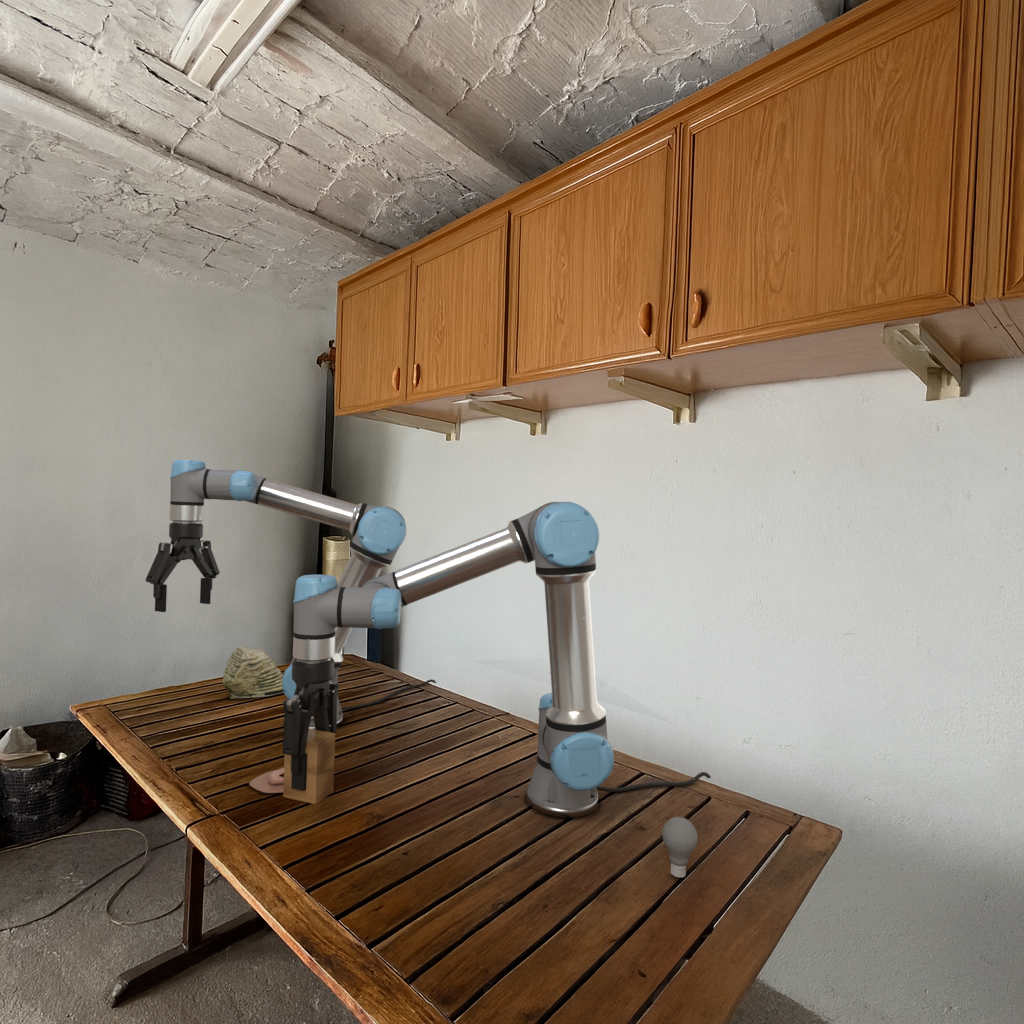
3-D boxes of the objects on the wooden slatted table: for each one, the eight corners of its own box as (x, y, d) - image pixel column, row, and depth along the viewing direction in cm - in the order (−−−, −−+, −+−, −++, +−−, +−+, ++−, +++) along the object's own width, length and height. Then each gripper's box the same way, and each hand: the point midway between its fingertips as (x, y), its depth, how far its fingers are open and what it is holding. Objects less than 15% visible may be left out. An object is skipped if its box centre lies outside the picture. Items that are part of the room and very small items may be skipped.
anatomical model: (241, 770, 135) (272, 750, 146) (240, 789, 135) (271, 767, 146) (297, 779, 132) (324, 757, 144) (297, 798, 132) (324, 775, 144)
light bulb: (655, 865, 113) (658, 810, 113) (688, 865, 114) (691, 810, 114) (666, 886, 107) (669, 827, 107) (701, 886, 108) (704, 827, 108)
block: (302, 784, 122) (303, 727, 122) (333, 791, 120) (335, 733, 120) (283, 796, 117) (284, 736, 117) (315, 804, 115) (317, 743, 114)
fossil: (218, 695, 195) (220, 647, 195) (278, 685, 208) (279, 640, 207) (228, 703, 189) (230, 653, 188) (289, 692, 201) (290, 645, 201)
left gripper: (213, 520, 170) (210, 599, 171) (130, 522, 147) (127, 613, 147) (235, 522, 168) (232, 601, 168) (154, 524, 144) (151, 616, 145)
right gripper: (326, 645, 128) (322, 759, 128) (262, 667, 110) (258, 799, 111) (358, 650, 125) (354, 766, 126) (297, 673, 108) (293, 807, 108)
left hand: (183, 607), depth 158 cm, fingers open, 13 cm apart
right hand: (309, 781), depth 118 cm, fingers closed on block, 5 cm apart
